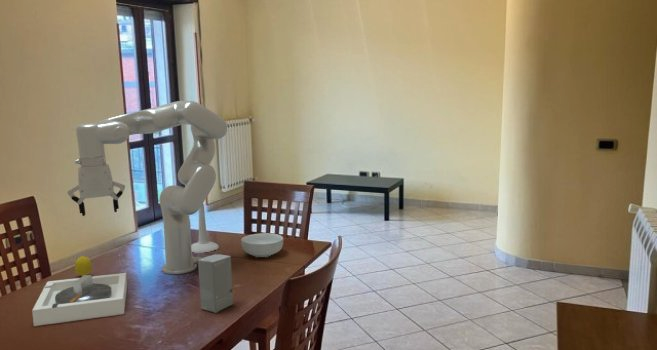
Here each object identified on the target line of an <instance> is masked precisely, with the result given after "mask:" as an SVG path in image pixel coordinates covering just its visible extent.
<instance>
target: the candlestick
mask: <svg viewBox="0 0 657 350" xmlns="http://www.w3.org/2000/svg"><path fill="white" fill-rule="evenodd" d="M206 223H207V222H206V215H205V204H204V203H203V204H202V206H201V207H200V209H199V210H198V241H197V242H193V243H191V248H192V252H194V253H193V254H205V253H204V252H209V253H211V252H210V251H213V252H215V251H214V250H216V251H218V250H217V249H218V248H219V249H220V246H219V244H217V243H216V242H213V241H208V234H207V233H208V232H207V224H206Z"/></svg>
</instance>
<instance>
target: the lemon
mask: <svg viewBox="0 0 657 350" xmlns="http://www.w3.org/2000/svg"><path fill="white" fill-rule="evenodd" d="M74 271H75V273H76V274H77V275H78V276H81V277H82V276H83V275H90V273H91V271H92V262H91V259H90V258H89V257H88V256H84V255H81V256H80V257H78V258H77V259H76V260H75V263H74Z"/></svg>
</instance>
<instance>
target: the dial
mask: <svg viewBox="0 0 657 350" xmlns="http://www.w3.org/2000/svg"><path fill="white" fill-rule="evenodd" d="M92 277H93V275H92V274H88V275H83V276H81V277H78V278H79V279H78V280H77V281H75V282H74V283H73V287H70V288H67V289H65V290H62V291H61V292H59V293H58V294H57V295H56V296H55V303H56V304H57V303H58V304H66V303H74V302H82V301H90V300H98V299H106V298H109V297H110V296H111V294H112V291H111V287H110V286H108V285H105V284H97V283H94V284H92Z"/></svg>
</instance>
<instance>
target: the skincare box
mask: <svg viewBox="0 0 657 350" xmlns="http://www.w3.org/2000/svg"><path fill="white" fill-rule="evenodd" d="M231 258H232V256H231V255H227V254H220V253H215V254H212V255H208V256H207V255H206V256H205V258H202V259H199V260H198V263H197V264H198V265H197V267H198V279H199V280H198V281H199V296H200V309H201V310H205V311H208V312H212V313H214V314H216V313H219V312H221V311H222V310H225V309H227V308H228V307H230V306H233V305H234V297H233V295H234V292H233V278H232V277H233V275H232V274H233V273H232V259H231Z"/></svg>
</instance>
